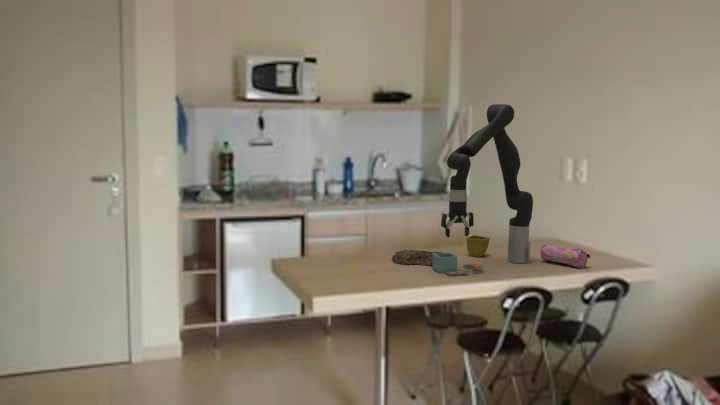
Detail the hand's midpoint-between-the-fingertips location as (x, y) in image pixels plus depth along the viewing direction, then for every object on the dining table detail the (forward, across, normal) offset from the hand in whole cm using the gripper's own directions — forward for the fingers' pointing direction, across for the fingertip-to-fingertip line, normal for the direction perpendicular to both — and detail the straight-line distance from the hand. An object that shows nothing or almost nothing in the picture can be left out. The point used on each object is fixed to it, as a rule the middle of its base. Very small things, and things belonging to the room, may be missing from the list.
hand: (457, 236), depth 318 cm
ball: (+13, -8, +4) cm, 16 cm away
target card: (+15, +2, +6) cm, 17 cm away
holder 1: (+15, -8, -4) cm, 18 cm away
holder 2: (+15, -8, +4) cm, 18 cm away
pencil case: (+17, -54, -3) cm, 57 cm away
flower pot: (+16, -22, -28) cm, 39 cm away
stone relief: (+16, +6, -23) cm, 29 cm away
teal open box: (+15, +5, -1) cm, 16 cm away
